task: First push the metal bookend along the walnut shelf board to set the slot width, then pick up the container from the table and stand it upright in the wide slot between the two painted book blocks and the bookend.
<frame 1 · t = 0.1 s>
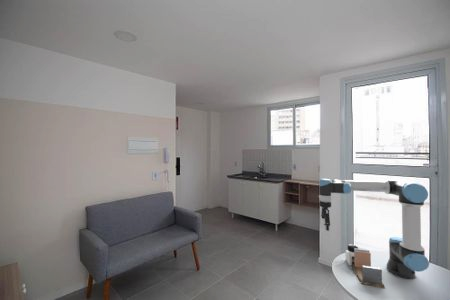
hand: (325, 231, 142), 28 cm above the table, fingers open, 13 cm apart
shelf: (366, 275, 135), on the table
container: (353, 263, 151), on the table
books: (362, 268, 143), resting on shelf
bookend: (371, 274, 127), point 6 cm above the table, slide at 0.0 cm
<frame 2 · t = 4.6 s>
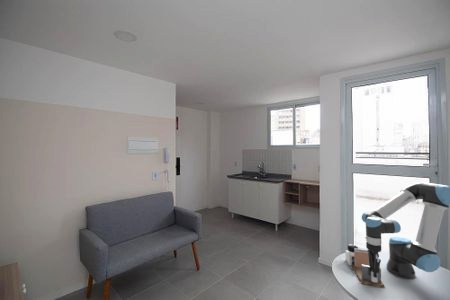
hand: (374, 281, 124), 4 cm above the table, fingers closed
bookend: (371, 273, 128), point 6 cm above the table, slide at 1.2 cm, touching gripper
everything else where it was.
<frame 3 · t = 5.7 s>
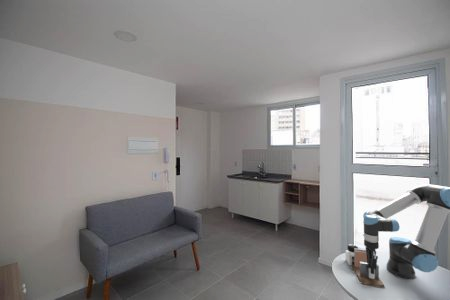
hand: (371, 277, 127), 4 cm above the table, fingers closed
bookend: (369, 270, 131), point 6 cm above the table, slide at 4.7 cm, touching gripper
everything else where it was.
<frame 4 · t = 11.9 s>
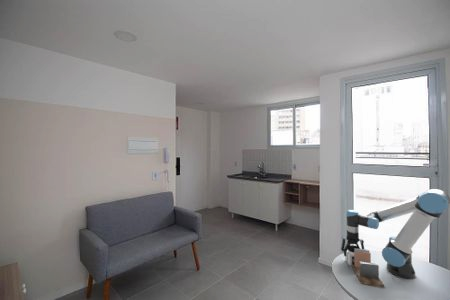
hand: (353, 261, 151), 1 cm above the table, fingers closed on container, 8 cm apart
container: (353, 263, 151), on the table, touching gripper
bookend: (369, 270, 131), point 6 cm above the table, slide at 4.7 cm
when the fingers open (5 cm above the table, at t = 18.7 s): container drops 2 cm, resting on shelf.
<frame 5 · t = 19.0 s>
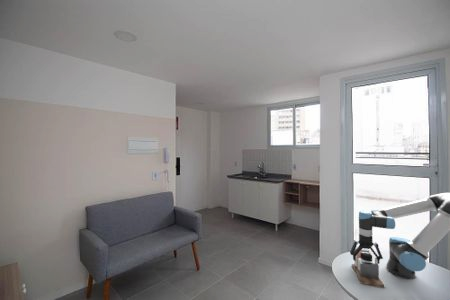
hand: (366, 266, 136), 6 cm above the table, fingers open, 11 cm apart
container: (366, 273, 136), point 1 cm above the table, touching shelf
everything else where it was.
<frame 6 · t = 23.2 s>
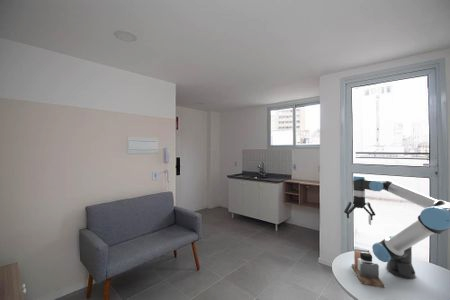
hand: (359, 223, 154), 29 cm above the table, fingers open, 13 cm apart
nothing on the table moved.
at the end: container inside the target area (0.3 cm from its centre), point 1.3 cm above the table; container tilted 0°; bookend slide at 4.7 cm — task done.
